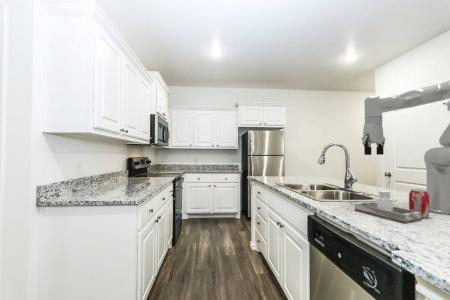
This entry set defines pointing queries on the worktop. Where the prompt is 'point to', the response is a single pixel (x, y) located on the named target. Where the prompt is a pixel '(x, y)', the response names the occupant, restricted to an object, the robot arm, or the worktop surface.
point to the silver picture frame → (389, 213)
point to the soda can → (419, 201)
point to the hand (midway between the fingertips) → (374, 154)
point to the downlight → (385, 201)
